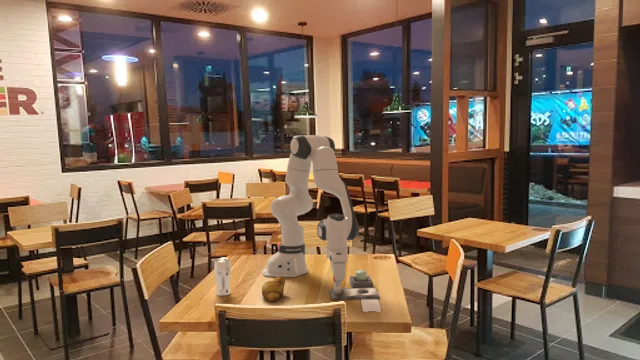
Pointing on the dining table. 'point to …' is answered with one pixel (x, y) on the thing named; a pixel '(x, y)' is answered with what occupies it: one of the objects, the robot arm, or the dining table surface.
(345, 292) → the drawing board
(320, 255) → the dining table surface
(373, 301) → the smartphone
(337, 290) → the marker
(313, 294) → the dining table surface
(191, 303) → the dining table surface
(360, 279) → the button
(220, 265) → the beer glass
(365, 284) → the button base
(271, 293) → the bread roll
